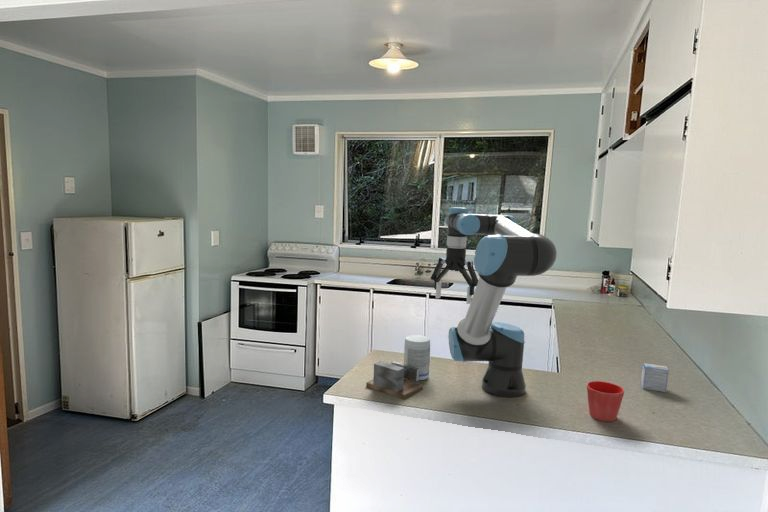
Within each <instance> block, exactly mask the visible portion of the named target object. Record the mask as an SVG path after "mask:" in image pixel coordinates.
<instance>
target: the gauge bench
mask: <svg viewBox="0 0 768 512" xmlns="http://www.w3.org/2000/svg"><path fill="white" fill-rule="evenodd" d="M365 387H366V388H370V389H372V390H376V391H378V392H382V393H385V394H388V395H391V396H394V397H397V398H400V399H402V400H406V399H407V398H409V397H411V396H412V395H414V394H416V393H417V392H420V391H421V390H423V387H424V386H423V384H421V383H419V382H416V381H412V380H409V379H406V378H404V368H403V367H399V366H396V365H392V364H391V363H388V362H385V361H381V360H379V361H377V362H376V363H373V379H371V380H369V381H366V385H365Z"/></svg>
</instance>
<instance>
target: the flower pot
mask: <svg viewBox="0 0 768 512" xmlns="http://www.w3.org/2000/svg"><path fill="white" fill-rule="evenodd" d="M586 392H587V393H586V394H587V403H588V404H587V405H588V410H589V415H590V417H592V418H593V419H595V420H599V421H602V422H613V421H616V420H617V417H618V415H619V411H620V408H621V405H622V402H623V398H624V394H625V389H624V388H623V387H622V386H621V385H618V384H616V383H612V382H607V381H602V380H601V381H600V380H595V381H594V380H592V381H589V382H587V383H586Z"/></svg>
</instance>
